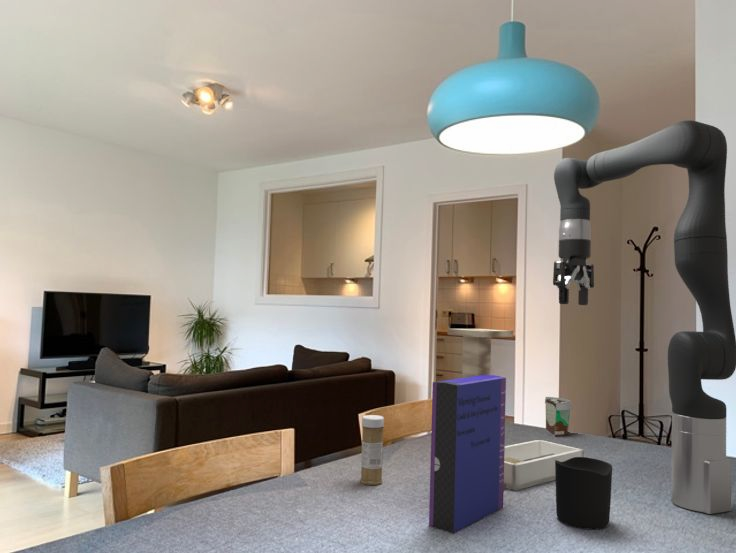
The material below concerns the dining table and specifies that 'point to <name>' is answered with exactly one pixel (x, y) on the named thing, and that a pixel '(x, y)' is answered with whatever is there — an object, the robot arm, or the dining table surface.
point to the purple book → (466, 451)
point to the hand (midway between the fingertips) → (573, 304)
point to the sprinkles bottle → (372, 449)
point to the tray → (534, 462)
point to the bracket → (477, 350)
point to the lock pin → (524, 460)
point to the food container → (557, 416)
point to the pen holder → (583, 492)
